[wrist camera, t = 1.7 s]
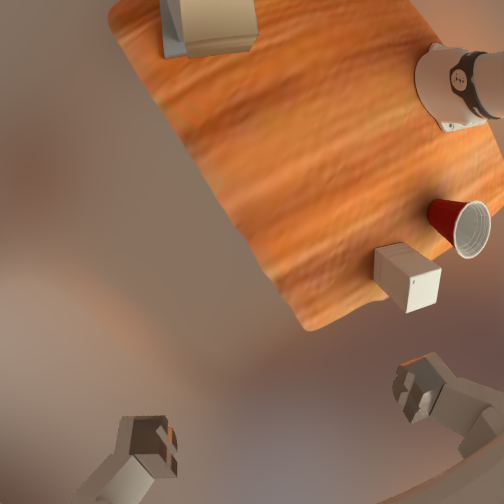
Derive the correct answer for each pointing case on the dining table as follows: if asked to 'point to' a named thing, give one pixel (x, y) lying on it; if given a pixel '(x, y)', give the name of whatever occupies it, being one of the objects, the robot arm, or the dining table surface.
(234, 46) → the mallet
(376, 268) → the supplement box
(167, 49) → the pedestal shelf
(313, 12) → the dining table surface
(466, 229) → the plastic cup
